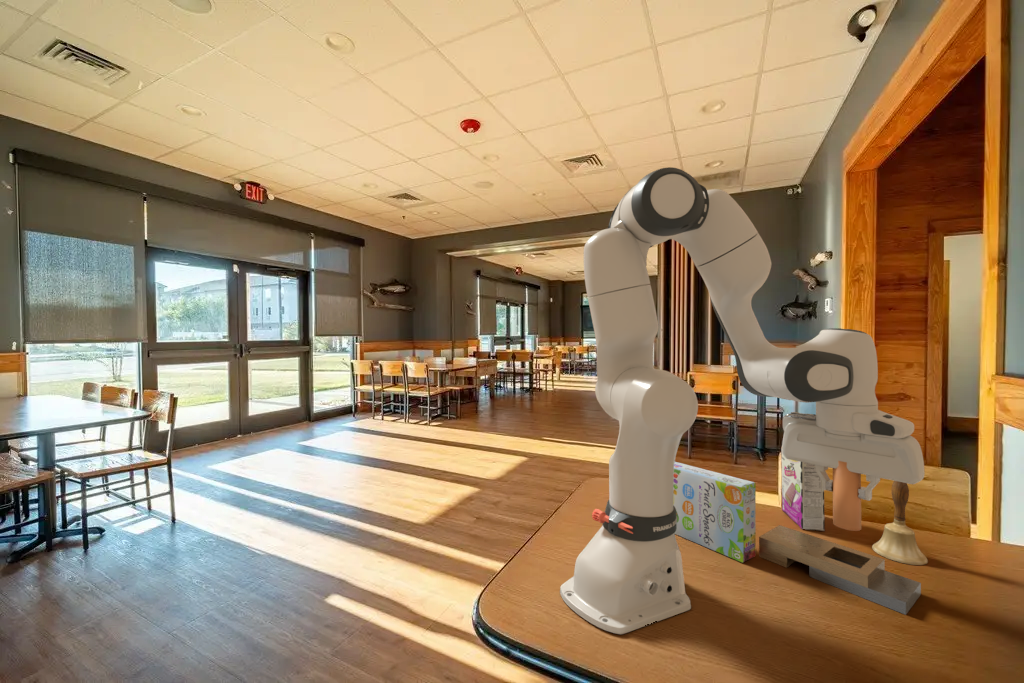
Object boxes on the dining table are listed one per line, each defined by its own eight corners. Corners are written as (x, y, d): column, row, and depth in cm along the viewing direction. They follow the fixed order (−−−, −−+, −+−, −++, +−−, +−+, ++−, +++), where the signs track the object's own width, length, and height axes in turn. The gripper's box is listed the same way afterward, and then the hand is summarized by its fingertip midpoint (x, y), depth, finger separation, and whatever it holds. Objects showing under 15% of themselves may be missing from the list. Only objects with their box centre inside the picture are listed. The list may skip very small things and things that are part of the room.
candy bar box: (780, 510, 107) (780, 445, 107) (802, 511, 106) (802, 446, 106) (801, 530, 96) (800, 458, 96) (825, 532, 95) (825, 459, 95)
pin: (856, 532, 74) (856, 464, 74) (829, 524, 77) (828, 459, 77) (864, 526, 76) (863, 460, 76) (837, 519, 79) (837, 455, 79)
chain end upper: (867, 599, 71) (867, 576, 71) (759, 556, 85) (759, 536, 85) (884, 581, 76) (884, 559, 76) (779, 543, 90) (779, 525, 90)
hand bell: (928, 554, 85) (928, 475, 85) (927, 570, 79) (926, 485, 79) (874, 540, 91) (874, 466, 91) (869, 554, 85) (869, 475, 85)
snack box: (757, 556, 85) (757, 481, 85) (743, 564, 82) (742, 487, 82) (666, 519, 103) (666, 457, 103) (651, 525, 99) (651, 461, 99)
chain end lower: (905, 614, 67) (905, 602, 67) (809, 576, 78) (809, 565, 78) (920, 594, 72) (920, 582, 72) (828, 561, 83) (828, 551, 83)
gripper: (775, 412, 83) (776, 482, 83) (916, 430, 66) (917, 517, 66) (789, 408, 87) (790, 476, 87) (927, 424, 70) (927, 508, 70)
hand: (846, 494), depth 77 cm, fingers closed on pin, 4 cm apart
